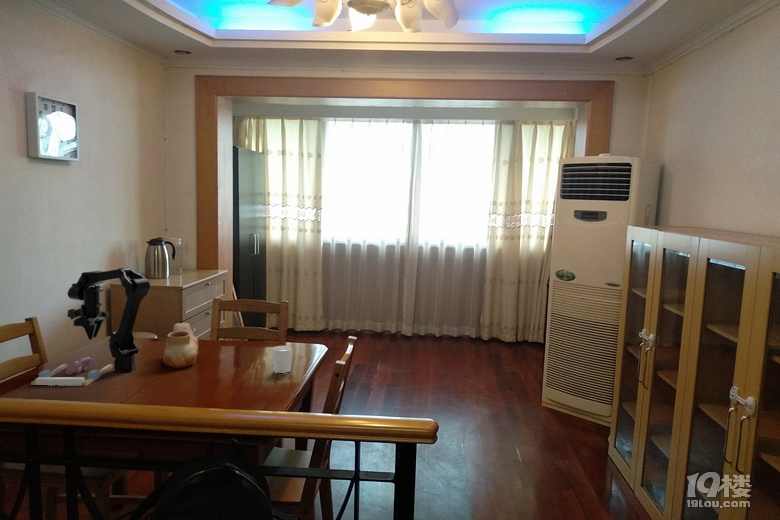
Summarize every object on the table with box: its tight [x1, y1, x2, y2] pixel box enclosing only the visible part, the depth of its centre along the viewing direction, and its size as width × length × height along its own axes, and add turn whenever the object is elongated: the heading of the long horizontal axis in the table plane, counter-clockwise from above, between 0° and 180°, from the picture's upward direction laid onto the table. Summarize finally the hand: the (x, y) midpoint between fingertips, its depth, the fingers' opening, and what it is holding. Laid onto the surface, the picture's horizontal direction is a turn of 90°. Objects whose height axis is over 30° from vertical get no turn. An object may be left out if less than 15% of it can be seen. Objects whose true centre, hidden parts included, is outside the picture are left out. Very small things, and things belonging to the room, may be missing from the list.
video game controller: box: [65, 356, 95, 375], centre depth 202 cm, size 10×5×7 cm, turn 169°
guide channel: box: [30, 363, 114, 387], centre depth 197 cm, size 20×22×3 cm
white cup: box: [272, 345, 293, 373], centre depth 211 cm, size 8×8×10 cm
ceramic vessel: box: [162, 322, 199, 369], centre depth 221 cm, size 14×26×15 cm, turn 18°
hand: (92, 338), depth 211 cm, fingers open, 3 cm apart
